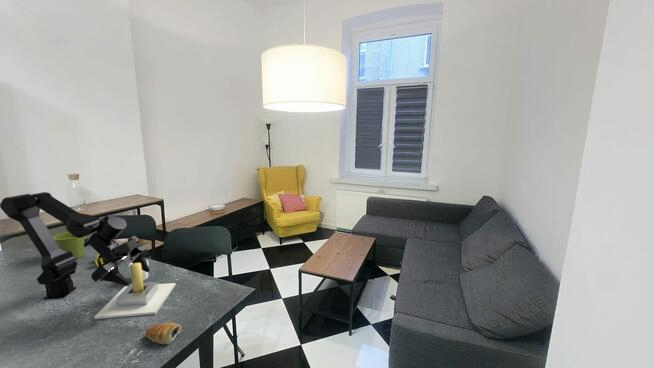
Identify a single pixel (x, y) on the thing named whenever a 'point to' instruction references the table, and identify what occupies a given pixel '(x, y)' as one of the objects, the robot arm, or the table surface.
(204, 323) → the table surface
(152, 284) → the metal collar
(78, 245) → the plant pot
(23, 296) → the table surface
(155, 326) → the pastry
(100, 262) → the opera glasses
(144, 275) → the white short cylinder
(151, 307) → the base plate
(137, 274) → the pin
